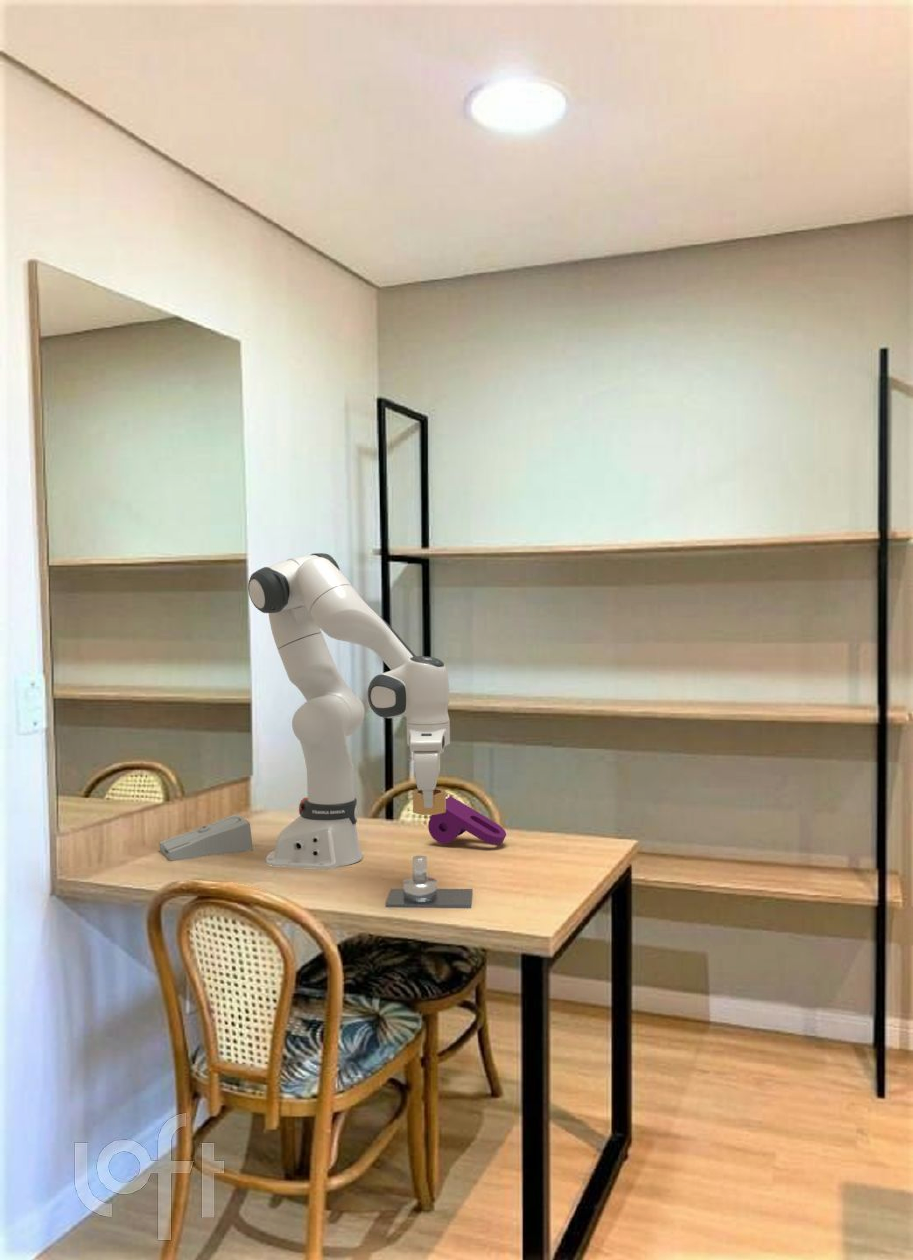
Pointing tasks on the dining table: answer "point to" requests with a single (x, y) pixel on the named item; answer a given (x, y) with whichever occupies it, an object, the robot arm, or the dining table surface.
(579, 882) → the dining table surface
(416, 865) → the base with metal peg
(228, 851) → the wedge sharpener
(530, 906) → the dining table surface
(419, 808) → the ring
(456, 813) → the mounting bracket
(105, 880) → the dining table surface
